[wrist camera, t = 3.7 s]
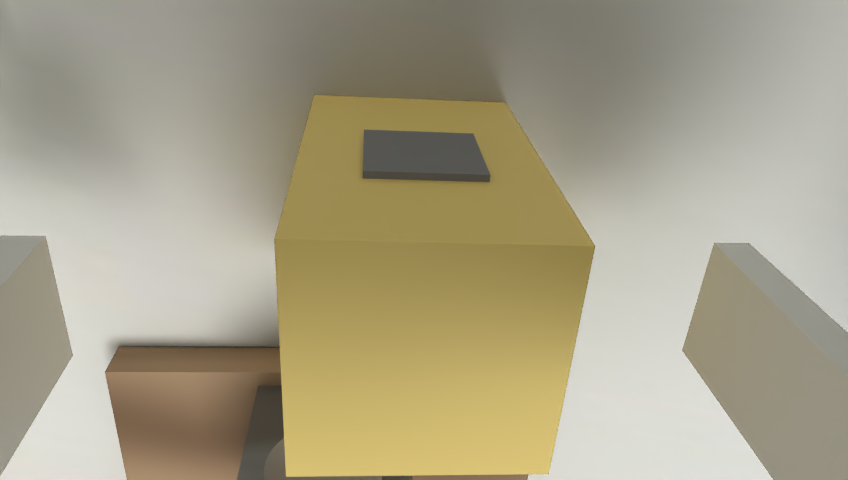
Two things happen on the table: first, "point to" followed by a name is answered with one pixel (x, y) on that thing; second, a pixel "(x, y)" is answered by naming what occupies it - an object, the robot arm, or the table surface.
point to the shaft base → (208, 415)
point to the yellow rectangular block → (424, 292)
